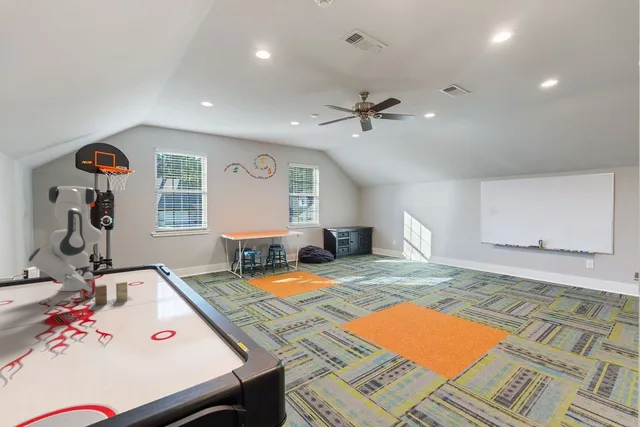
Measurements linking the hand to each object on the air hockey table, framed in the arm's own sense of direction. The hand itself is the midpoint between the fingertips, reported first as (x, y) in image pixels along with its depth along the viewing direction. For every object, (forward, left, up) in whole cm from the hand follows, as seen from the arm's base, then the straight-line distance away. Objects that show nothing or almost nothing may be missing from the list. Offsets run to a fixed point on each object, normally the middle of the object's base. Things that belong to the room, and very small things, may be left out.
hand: (89, 288), depth 154 cm
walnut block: (0, +5, -9) cm, 10 cm away
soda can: (-19, +1, -10) cm, 22 cm away
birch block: (0, +14, -9) cm, 17 cm away
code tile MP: (0, +14, -10) cm, 17 cm away
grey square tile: (0, +5, -10) cm, 11 cm away
